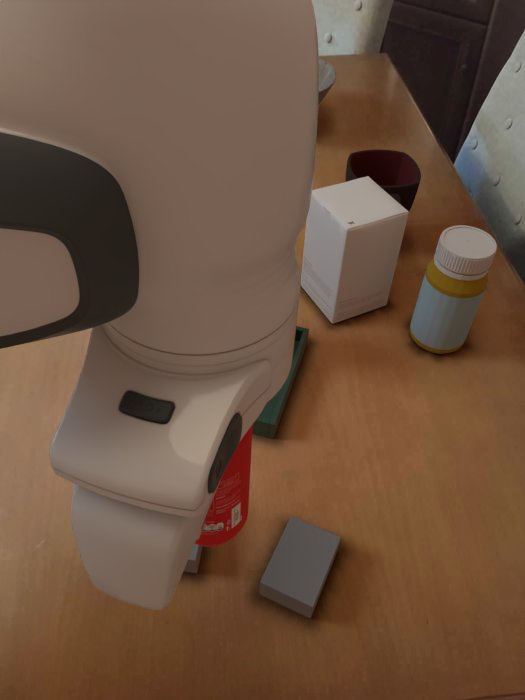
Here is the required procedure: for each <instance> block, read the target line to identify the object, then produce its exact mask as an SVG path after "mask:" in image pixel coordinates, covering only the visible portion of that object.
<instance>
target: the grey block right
mask: <svg viewBox="0 0 525 700" xmlns="http://www.w3.org/2000/svg"><path fill="white" fill-rule="evenodd" d="M341 541H342V537H341V536H339V535H337V534H334V533H332V532H330V531H327V530H325V529H324V528H321V527H319V526H317V525H314V524H312V523H309V522H307V521H305V520H302V519H300V518H298V517H295V516H293V515H291V516H290V517H289V520H288V522H287V524H286V526H285V528H284V529H283V532H282V534H281V536H280V538H279V541H278V542H277V545H276V547H275V549H274V551H273V553H272V556H271V557H270V559H269V562H268V564H267V565H266V568H265V570H264V572H263V574H262V577H261V578H260V580H259V592H258V593H259V595H260V596H262V597H265V598H266V599H267V600H270V601H272V602H275V603H276V604H278V605H281V606H283V607H284V608H287V609H289V610H291V611H293V612H294V613H297V614H299V615H300V616H301V615H302V616H303V617H305V618H308V619H312V616H313V614H314V612H315V609H316V606H317V604H318V601H319V599H320V597H321V594H322V592H323V589H324V586H325V583H326V581H327V579H328V576H329V574H330V572H331V568H332V566H333V563H334V561H335V559H336V556H337V553H338V552H339V548H340V544H341Z"/></svg>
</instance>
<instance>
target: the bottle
mask: <svg viewBox="0 0 525 700" xmlns="http://www.w3.org/2000/svg"><path fill="white" fill-rule="evenodd" d="M497 247H498V245H497V242H496V240H495V239H494V237H493V236H492V235H491V234H489V233H488V232H487V231H485V230H483V229H481V228H478V227H476V226H472V225H463V224H461V225H460V224H459V225H458V224H457V225H451V226H449V227H447V228H445V229H444V230H442V232H441V233H440V236H439V238H438V241H437V244H436V248H435V254H434V256H433V258H432V259H431V260H430V261H429V263H428V264H427V267H426V269H425V272H424V276H423V279H422V282H421V287H420V289H419V292H418V296H417V300H416V303H415V307H414V309H413V313H412V316H411V320H410V325H409V334H410V337H411V339H412V340H413V341H414V343H415V344H416V345H417V346H419V347H420V348H421V349H423V350H425V351H427V352H429V353H432V354H437V355H441V354H442V355H443V354H450V353H453V352H457V351H458V350H460V349H461V348H462V347H463V345H464V343H466V340H467V338H468V335H469V333H470V329H471V327H472V324H473V322H474V320H475V317H476V315H477V312H478V309H479V307H480V305H481V302H482V300H483V297H484V294H485V292H486V289H487V286H488V284H489V271H490V267H491V265H492V263H493V260H494V258H495V255H496V253H497V249H498V248H497Z"/></svg>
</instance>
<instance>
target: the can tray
mask: <svg viewBox="0 0 525 700" xmlns="http://www.w3.org/2000/svg"><path fill="white" fill-rule="evenodd" d="M309 332H310V329H309V328H306V327H303V326H298V325H296V332H295V341H294V349H293V358H292V364H291V369H290V372H289V375H288V377H287V379H286V381H285V383H284V384H283V386H282V387H281V389H280V390H279V391H278V392H277V394H276V395H275V396H274V397H273V398H272V399H271V400H269V401H268V402H267V403H266V405H265V407H264V409H263V410H262V412H261V413H260V415H259V416H258V418H257V419H256V420H255V422H254V423H253V429H252V434H255V435H258V436H261V437H265V438H270V439H274V438H275V436H276V434H277V430H278V427H279V425H280V422H281V419H282V416H283V413H284V410H285V408H286V405H287V402H288V400H289V396H290V394H291V392H292V391H291V390H292V388H293V385H294V382H295V379H296V376H297V374H298V371H299V368H300V365H301V362H302V360H303V357H304V355H305V352H306V348H307V346H308V341H309V334H310V333H309Z"/></svg>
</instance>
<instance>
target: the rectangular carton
mask: <svg viewBox="0 0 525 700" xmlns="http://www.w3.org/2000/svg"><path fill="white" fill-rule="evenodd" d="M409 214H410V212H409V211H407V210H406V209H405V208H404V207H403V206H402V205H400V204H399V203H398V202H397V201H396V200H395V199H393V198H392V197H391V196H390V195H389V194H388V193H387V192H385V191H384V190H383V189H382V188H381V187H380V186H379V185H377V184H376V183H375V182H374V181H373V180H372V179H371V178H370V177H369V176H367V177H362V178H358V179H354V180H351V181H348V182H345V181H344V182H340V183H336V184H332V185H328V186H322V187H319V188H315V189H312V195H311V203H310V208H309V212H308V215H307V218H306V221H305V231H304V241H303V252H302V265H301V272H300V274H301V288H302V289H303V290H304V291H305V293H306V294H307V295H308V296H309V297H310V299H311V300H312V301H313V302H314V304H315V305H316V306H317V307H318V309H319V310H320V311H321V312H322V313H323V315H324V316H325V317H326V319H328V321H329V322H330V323H331V324H332V325H333V324H337V323H340V322H342V321H345V320H348V319H350V318H354V317H357V316H359V315H362V314H366V313H369V312H371V311H374V310H377V309H379V308H382V307H385V306H387V305H388V301H389V297H390V292H391V288H392V284H393V279H394V275H395V271H396V268H397V263H398V259H399V254H400V251H401V248H402V247H401V246H402V242H403V238H404V234H405V230H406V226H407V222H408V218H409Z"/></svg>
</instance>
